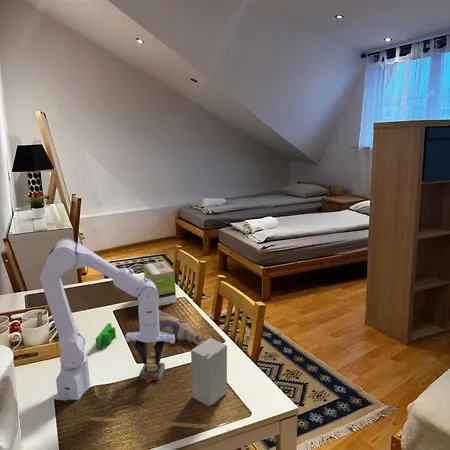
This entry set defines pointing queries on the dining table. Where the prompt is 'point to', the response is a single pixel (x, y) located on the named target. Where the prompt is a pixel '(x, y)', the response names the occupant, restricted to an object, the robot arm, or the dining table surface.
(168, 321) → the decorative bottle
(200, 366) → the skincare box
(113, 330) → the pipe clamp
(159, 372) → the stand base
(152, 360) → the small wooden barrel
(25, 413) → the dining table surface
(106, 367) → the dining table surface
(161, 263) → the tea box
